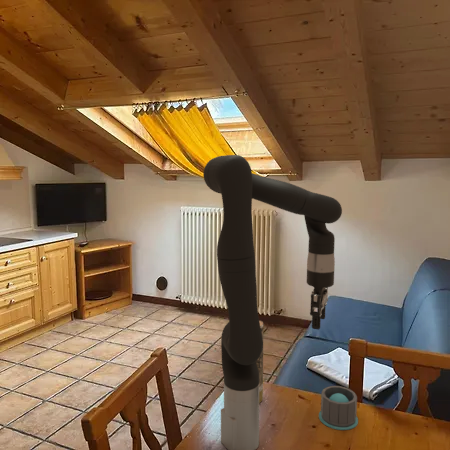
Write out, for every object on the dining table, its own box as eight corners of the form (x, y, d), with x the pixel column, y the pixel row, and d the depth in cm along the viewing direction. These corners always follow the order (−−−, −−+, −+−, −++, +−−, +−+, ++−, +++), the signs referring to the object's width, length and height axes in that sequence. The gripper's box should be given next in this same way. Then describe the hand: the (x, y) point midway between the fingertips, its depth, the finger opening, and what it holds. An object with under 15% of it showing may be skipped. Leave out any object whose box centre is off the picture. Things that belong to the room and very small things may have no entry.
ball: (338, 422, 120) (339, 402, 119) (323, 411, 125) (324, 392, 124) (353, 416, 123) (354, 396, 122) (338, 406, 128) (339, 387, 127)
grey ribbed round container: (338, 434, 117) (339, 409, 116) (310, 414, 126) (311, 391, 125) (366, 422, 122) (367, 398, 121) (338, 403, 132) (339, 381, 130)
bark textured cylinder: (262, 394, 137) (263, 319, 133) (262, 406, 130) (263, 328, 127) (241, 393, 138) (241, 319, 134) (240, 405, 131) (240, 327, 127)
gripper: (330, 275, 112) (328, 334, 114) (337, 263, 125) (335, 317, 127) (302, 272, 115) (300, 330, 117) (311, 261, 128) (310, 313, 130)
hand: (318, 323), depth 122 cm, fingers open, 8 cm apart
